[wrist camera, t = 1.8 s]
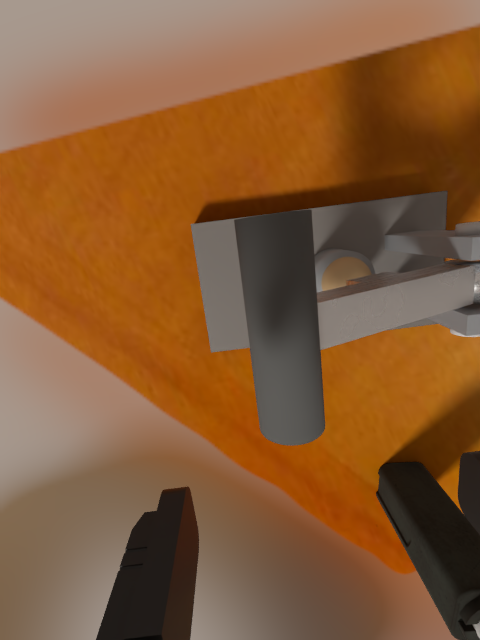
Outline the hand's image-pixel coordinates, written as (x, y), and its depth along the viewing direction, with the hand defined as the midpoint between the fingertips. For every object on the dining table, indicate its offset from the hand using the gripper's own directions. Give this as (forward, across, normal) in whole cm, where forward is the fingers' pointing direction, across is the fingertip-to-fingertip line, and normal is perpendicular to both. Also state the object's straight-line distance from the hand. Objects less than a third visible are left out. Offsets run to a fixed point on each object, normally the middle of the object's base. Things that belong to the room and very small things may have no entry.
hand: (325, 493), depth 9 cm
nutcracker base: (+21, -5, -3) cm, 22 cm away
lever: (+11, -5, -3) cm, 12 cm away
